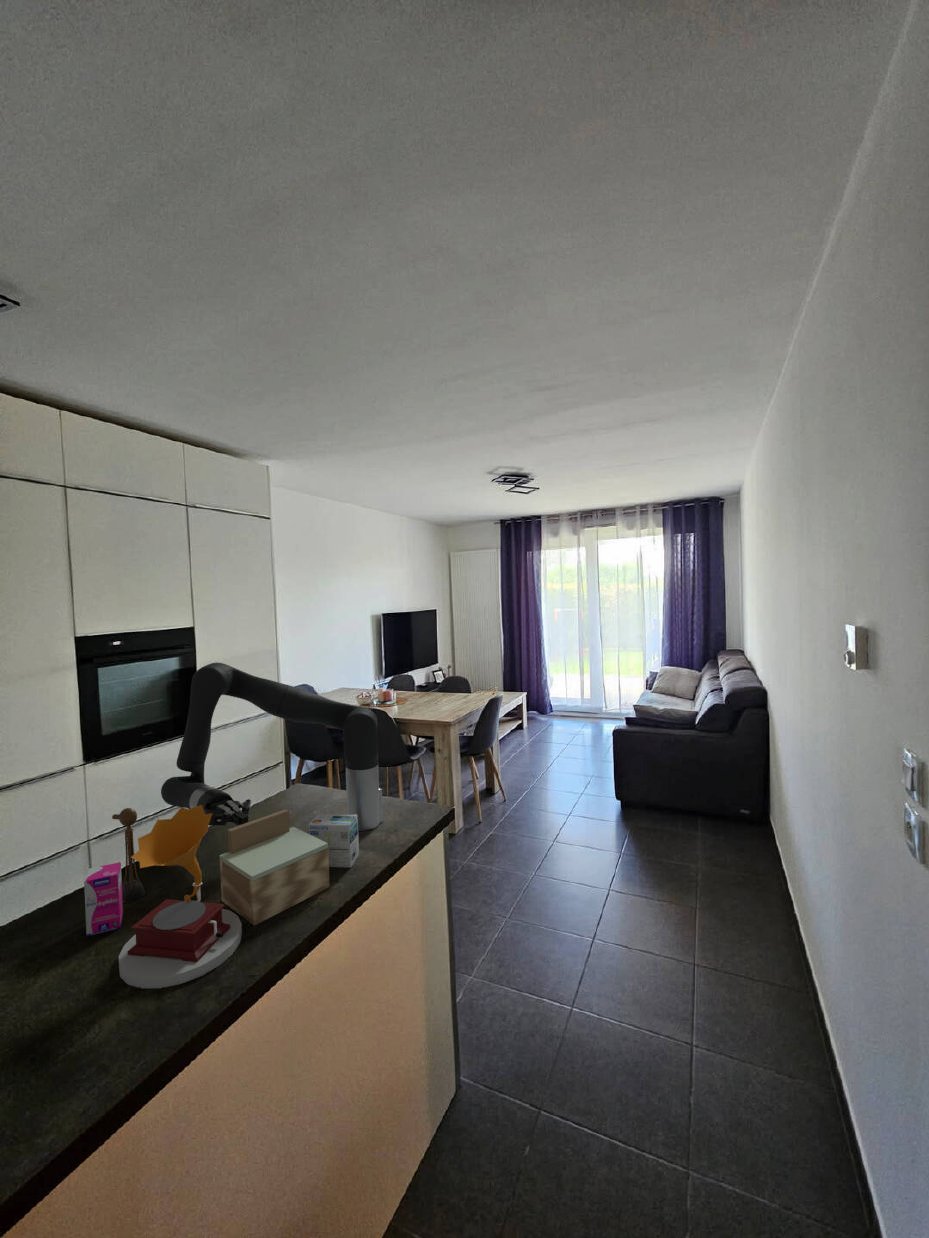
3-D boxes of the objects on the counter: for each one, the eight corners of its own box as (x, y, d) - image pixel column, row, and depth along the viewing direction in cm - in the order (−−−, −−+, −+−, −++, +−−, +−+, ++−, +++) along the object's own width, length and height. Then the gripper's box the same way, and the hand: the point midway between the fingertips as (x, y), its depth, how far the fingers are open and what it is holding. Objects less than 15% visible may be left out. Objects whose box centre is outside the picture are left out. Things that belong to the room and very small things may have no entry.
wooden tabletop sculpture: (110, 901, 117) (105, 811, 116) (126, 889, 122) (122, 803, 121) (133, 903, 116) (129, 812, 115) (149, 891, 121) (145, 804, 120)
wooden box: (295, 867, 130) (293, 831, 130) (329, 886, 121) (328, 847, 121) (221, 900, 117) (219, 860, 116) (254, 925, 108) (252, 881, 107)
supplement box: (85, 938, 105) (82, 881, 104) (90, 922, 110) (87, 867, 109) (121, 929, 107) (117, 873, 107) (124, 913, 113) (121, 860, 112)
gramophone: (173, 912, 113) (167, 796, 112) (262, 920, 109) (257, 800, 108) (89, 982, 93) (81, 841, 91) (196, 995, 89) (189, 848, 88)
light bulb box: (359, 854, 136) (358, 813, 135) (351, 868, 129) (350, 824, 129) (319, 853, 137) (317, 812, 136) (308, 867, 130) (307, 823, 130)
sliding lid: (293, 830, 130) (292, 806, 130) (328, 847, 121) (327, 821, 120) (219, 859, 116) (218, 832, 116) (252, 881, 107) (251, 852, 107)
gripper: (183, 797, 132) (216, 814, 121) (235, 781, 143) (270, 797, 131) (184, 826, 133) (217, 847, 122) (236, 809, 143) (271, 827, 132)
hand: (244, 821), depth 127 cm, fingers closed
